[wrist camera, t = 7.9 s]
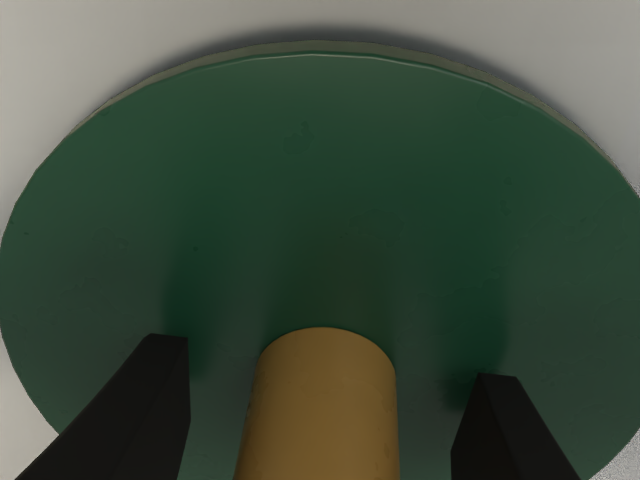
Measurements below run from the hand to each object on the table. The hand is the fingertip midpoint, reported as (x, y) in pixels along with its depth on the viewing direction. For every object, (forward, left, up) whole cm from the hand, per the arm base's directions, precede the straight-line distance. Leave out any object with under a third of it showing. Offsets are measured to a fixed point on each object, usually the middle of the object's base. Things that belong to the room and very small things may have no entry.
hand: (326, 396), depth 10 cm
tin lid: (0, 0, -1) cm, 1 cm away
